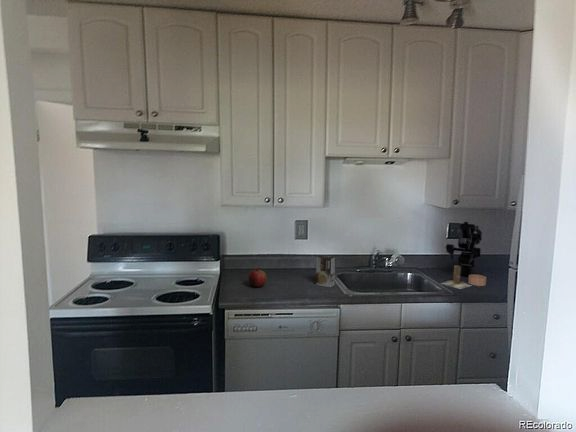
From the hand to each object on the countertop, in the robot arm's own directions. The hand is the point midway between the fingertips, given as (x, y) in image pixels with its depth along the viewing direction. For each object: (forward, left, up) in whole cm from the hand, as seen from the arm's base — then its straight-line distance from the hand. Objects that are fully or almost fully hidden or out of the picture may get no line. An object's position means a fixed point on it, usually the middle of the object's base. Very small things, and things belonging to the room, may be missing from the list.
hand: (460, 261), depth 224 cm
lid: (+2, -7, -12) cm, 14 cm away
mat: (+2, -7, -12) cm, 14 cm away
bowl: (+7, +6, -12) cm, 16 cm away
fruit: (-54, -106, -13) cm, 119 cm away
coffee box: (-37, -72, -13) cm, 81 cm away
